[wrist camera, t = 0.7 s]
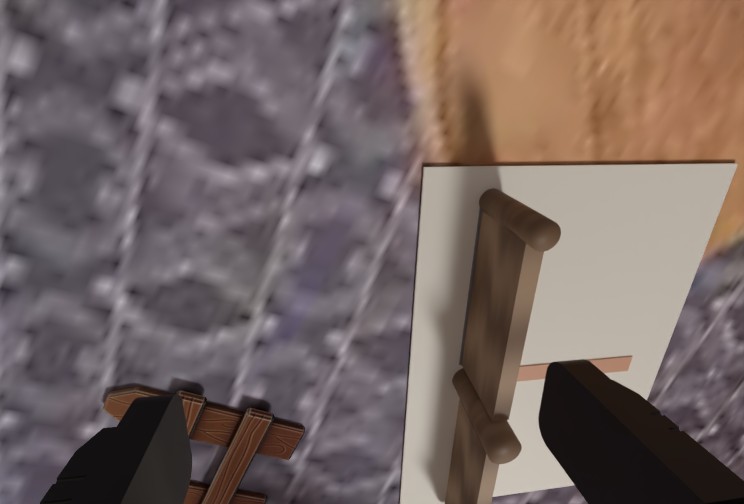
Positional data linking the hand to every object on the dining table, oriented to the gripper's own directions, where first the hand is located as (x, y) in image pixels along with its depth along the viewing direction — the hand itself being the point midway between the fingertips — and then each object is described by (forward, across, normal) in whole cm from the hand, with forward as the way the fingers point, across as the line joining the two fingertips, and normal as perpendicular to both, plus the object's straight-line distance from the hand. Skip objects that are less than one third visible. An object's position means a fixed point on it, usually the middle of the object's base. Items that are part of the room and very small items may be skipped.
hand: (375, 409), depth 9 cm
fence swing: (+20, -11, +24) cm, 33 cm away
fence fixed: (+19, -11, +7) cm, 23 cm away
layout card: (+20, -18, +14) cm, 30 cm away
